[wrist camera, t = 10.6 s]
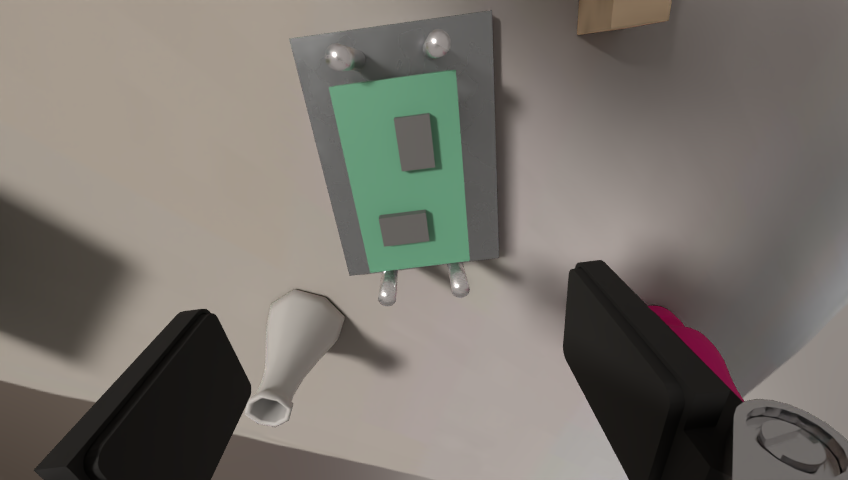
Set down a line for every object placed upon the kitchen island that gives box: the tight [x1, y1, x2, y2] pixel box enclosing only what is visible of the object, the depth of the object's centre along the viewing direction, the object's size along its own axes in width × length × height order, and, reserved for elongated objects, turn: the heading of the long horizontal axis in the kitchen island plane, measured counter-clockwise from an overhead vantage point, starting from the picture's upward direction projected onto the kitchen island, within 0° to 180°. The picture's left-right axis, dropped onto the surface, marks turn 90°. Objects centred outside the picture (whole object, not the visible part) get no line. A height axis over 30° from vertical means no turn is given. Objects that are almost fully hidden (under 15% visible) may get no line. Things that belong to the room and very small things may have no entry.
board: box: [329, 70, 470, 273], centre depth 22 cm, size 12×7×3 cm, turn 7°
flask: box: [245, 289, 345, 427], centre depth 29 cm, size 7×7×10 cm
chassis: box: [289, 10, 499, 306], centre depth 24 cm, size 18×13×8 cm
